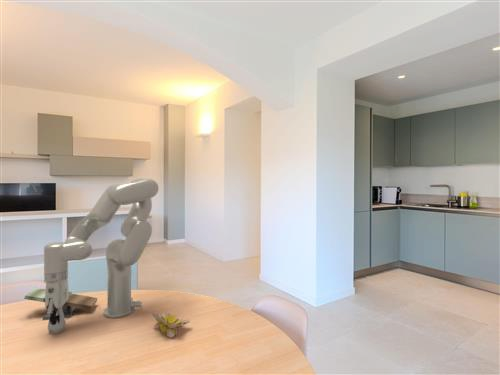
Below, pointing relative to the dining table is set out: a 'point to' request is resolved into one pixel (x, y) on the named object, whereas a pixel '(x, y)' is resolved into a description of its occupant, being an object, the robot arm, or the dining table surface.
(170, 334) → the decorative flower
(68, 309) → the beam stand
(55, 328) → the salt shaker
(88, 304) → the balance beam
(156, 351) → the dining table surface
